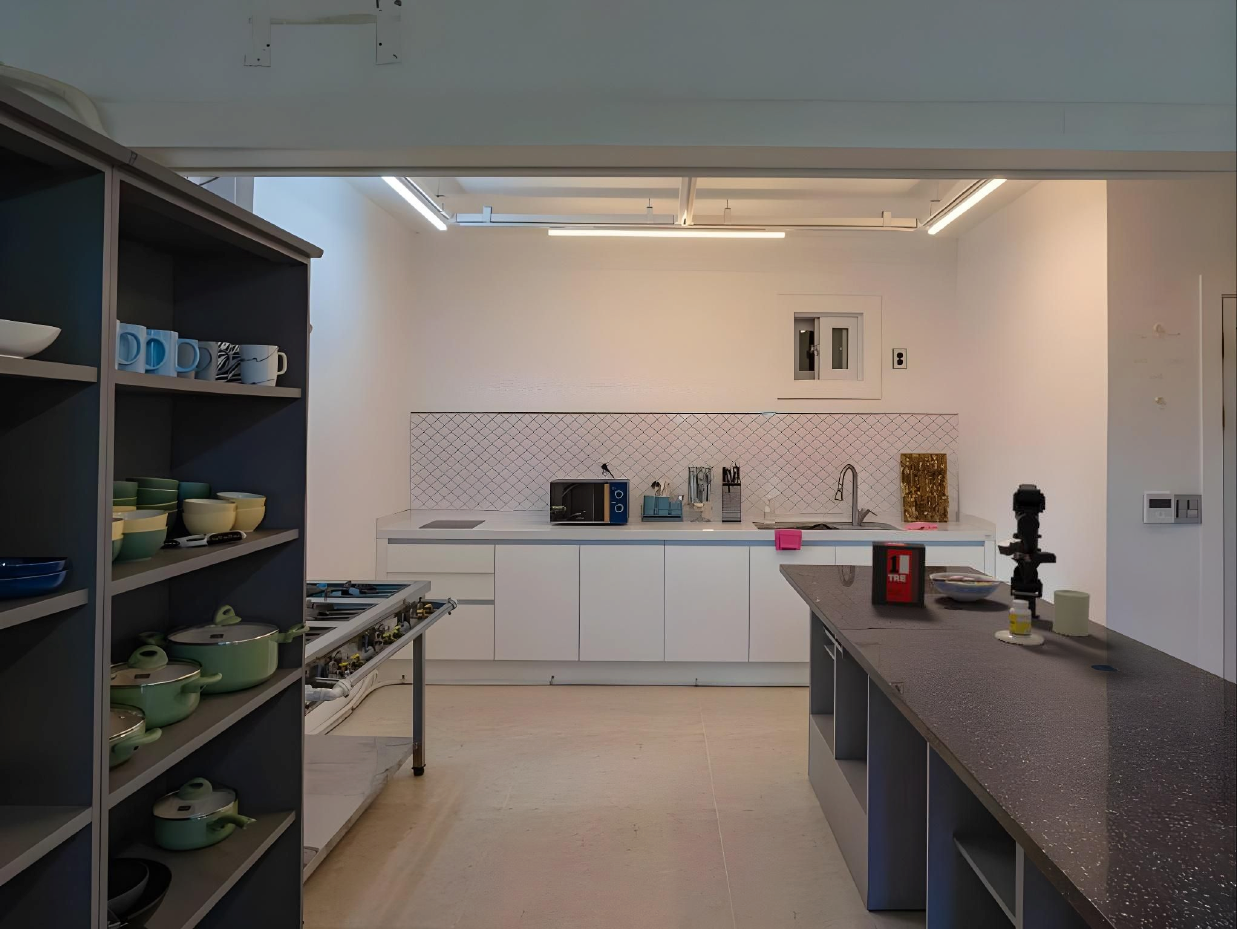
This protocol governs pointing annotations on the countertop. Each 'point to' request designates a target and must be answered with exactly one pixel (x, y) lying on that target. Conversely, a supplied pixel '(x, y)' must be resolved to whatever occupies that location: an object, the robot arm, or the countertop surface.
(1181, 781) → the countertop surface
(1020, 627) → the supplement bottle
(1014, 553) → the robot arm
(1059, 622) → the can
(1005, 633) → the coaster
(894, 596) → the cleaning product box
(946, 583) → the ramen bowl
